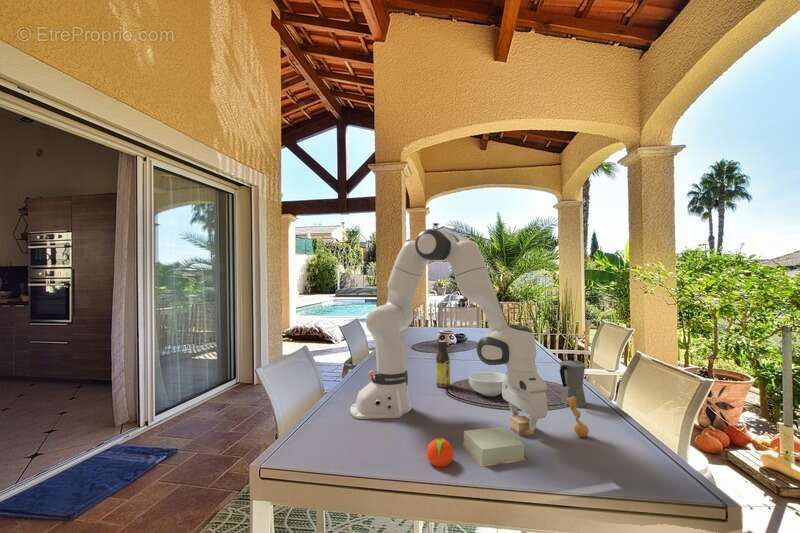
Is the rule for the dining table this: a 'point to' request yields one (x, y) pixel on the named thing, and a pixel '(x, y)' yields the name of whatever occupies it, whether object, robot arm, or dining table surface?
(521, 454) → the plinth block
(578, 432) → the figurine
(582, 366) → the coffeepot
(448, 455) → the clementine
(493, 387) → the cereal bowl
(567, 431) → the dining table surface
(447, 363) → the sauce bottle
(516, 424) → the oak cube
